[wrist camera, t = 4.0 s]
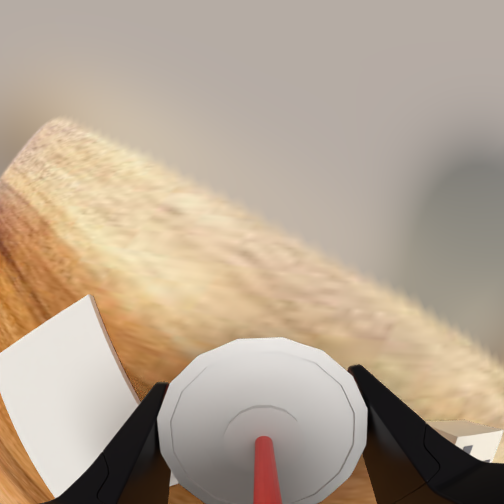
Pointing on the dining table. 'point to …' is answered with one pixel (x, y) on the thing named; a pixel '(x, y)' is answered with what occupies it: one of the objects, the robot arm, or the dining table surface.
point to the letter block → (470, 437)
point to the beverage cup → (262, 424)
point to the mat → (66, 393)
